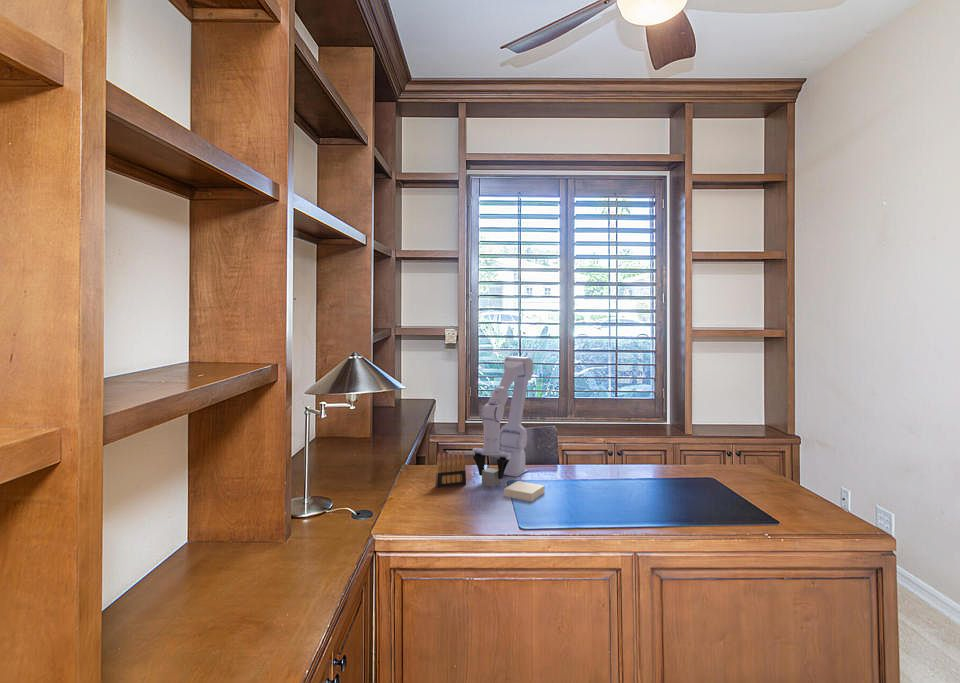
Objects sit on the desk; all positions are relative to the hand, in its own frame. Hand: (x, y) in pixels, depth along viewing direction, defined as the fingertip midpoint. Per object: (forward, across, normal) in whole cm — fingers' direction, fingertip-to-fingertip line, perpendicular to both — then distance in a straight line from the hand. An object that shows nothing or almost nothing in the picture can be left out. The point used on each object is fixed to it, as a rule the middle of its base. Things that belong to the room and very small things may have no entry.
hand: (491, 476), depth 197 cm
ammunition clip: (+3, -11, -9) cm, 14 cm away
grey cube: (+3, 0, 0) cm, 3 cm away
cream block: (+3, +15, -4) cm, 16 cm away
